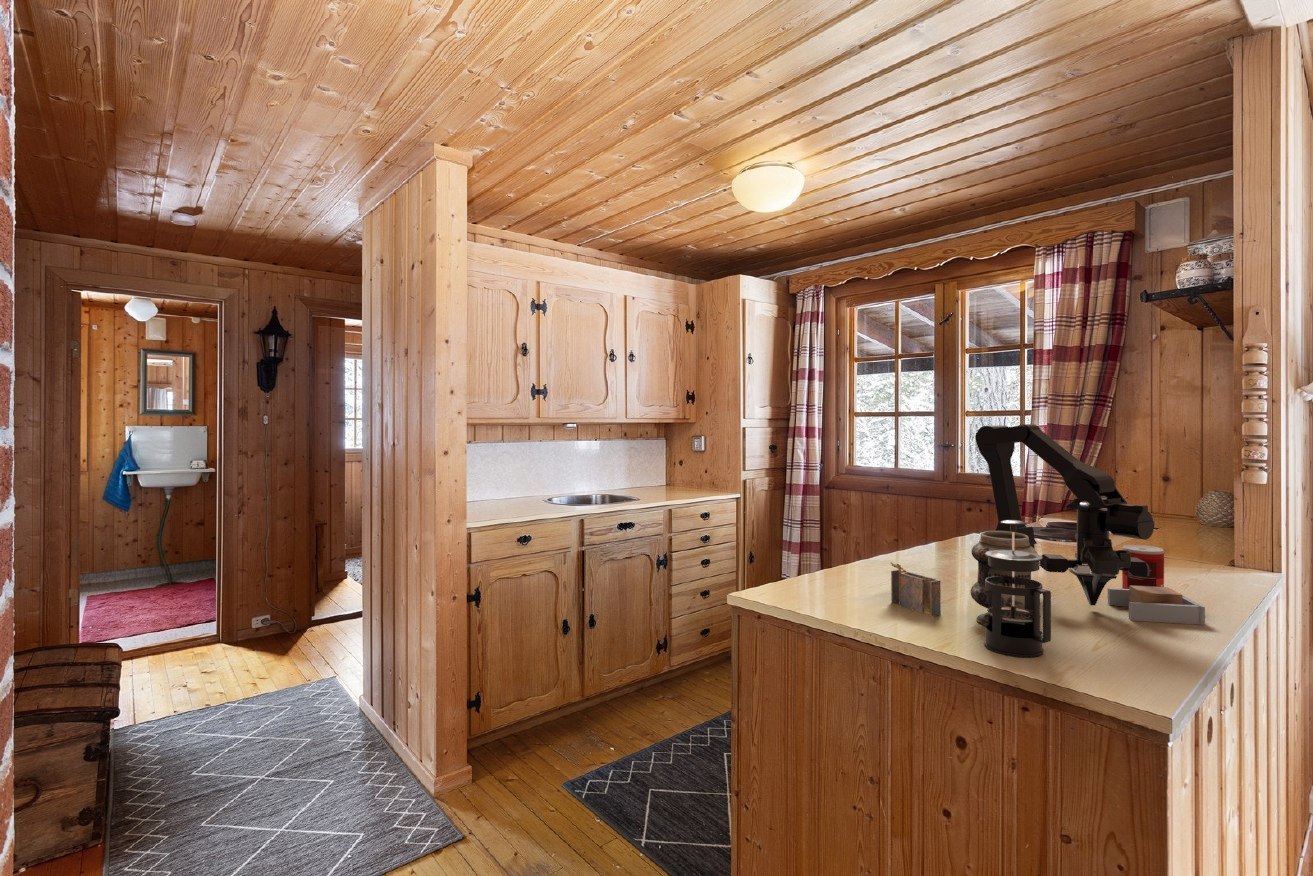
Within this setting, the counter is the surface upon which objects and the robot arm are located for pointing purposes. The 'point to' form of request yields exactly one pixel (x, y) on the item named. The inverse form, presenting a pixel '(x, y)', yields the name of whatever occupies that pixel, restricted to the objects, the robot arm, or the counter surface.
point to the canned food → (1154, 561)
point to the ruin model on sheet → (915, 591)
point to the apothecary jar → (990, 543)
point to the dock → (1158, 609)
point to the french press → (1013, 635)
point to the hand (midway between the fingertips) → (1092, 605)
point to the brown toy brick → (1154, 595)
